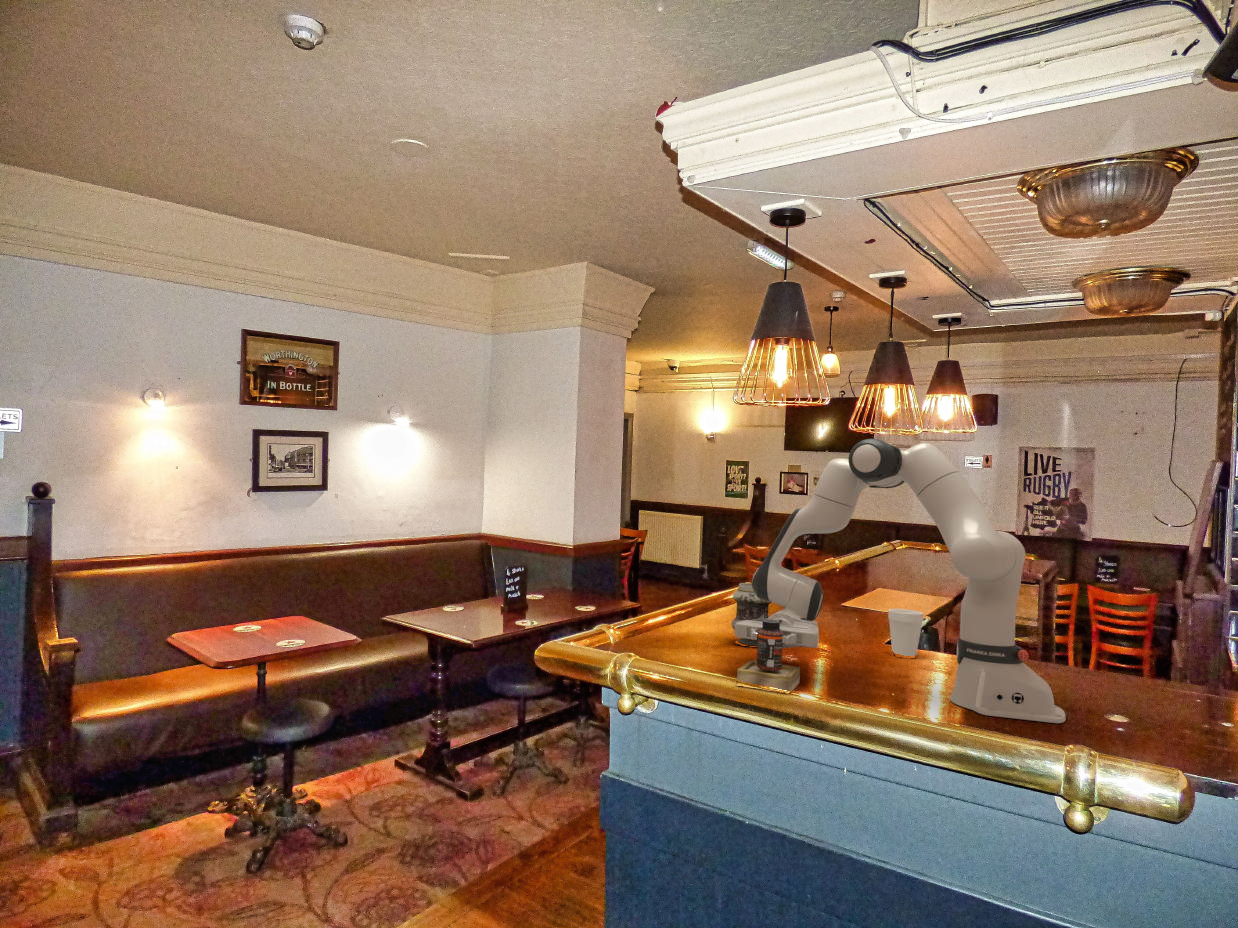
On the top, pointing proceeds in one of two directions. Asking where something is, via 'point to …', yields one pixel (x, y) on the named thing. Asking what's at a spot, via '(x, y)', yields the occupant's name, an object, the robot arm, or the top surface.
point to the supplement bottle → (770, 646)
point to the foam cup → (905, 630)
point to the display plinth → (770, 676)
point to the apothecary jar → (749, 608)
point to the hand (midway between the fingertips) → (769, 638)
